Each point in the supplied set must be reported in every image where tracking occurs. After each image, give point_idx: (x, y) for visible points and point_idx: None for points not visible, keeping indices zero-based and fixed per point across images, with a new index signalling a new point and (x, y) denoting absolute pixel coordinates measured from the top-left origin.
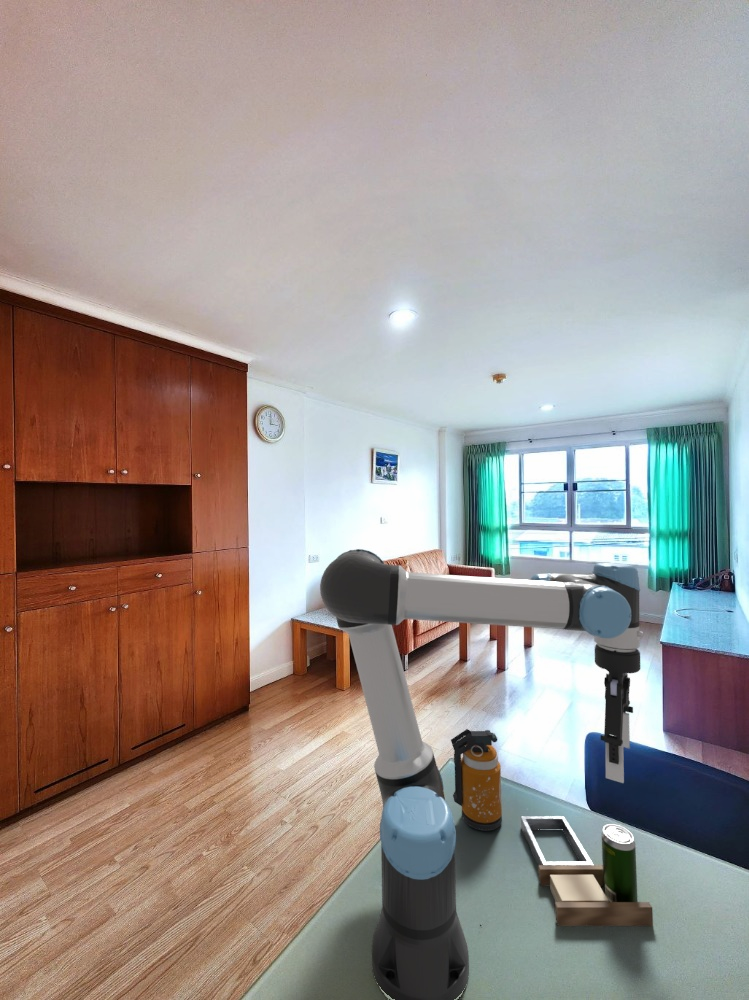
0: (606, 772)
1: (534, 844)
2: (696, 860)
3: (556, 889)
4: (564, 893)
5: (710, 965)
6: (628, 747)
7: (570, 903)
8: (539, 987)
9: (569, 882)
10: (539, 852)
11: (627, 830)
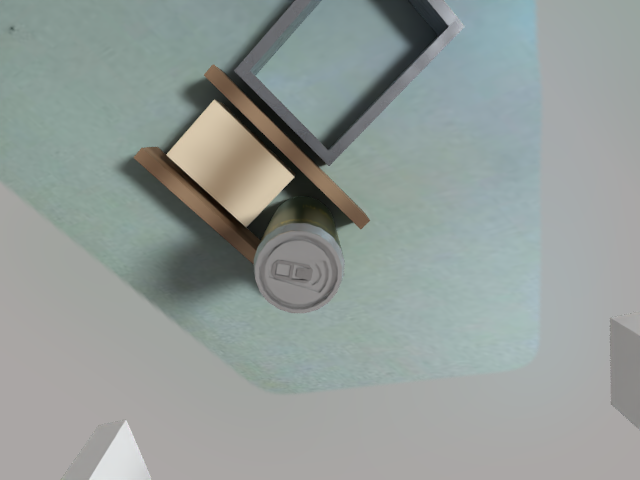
0: (77, 460)
1: (285, 14)
2: (533, 304)
3: (187, 130)
4: (188, 150)
5: (281, 362)
6: (615, 404)
7: (166, 174)
8: (12, 183)
9: (228, 145)
10: (266, 41)
11: (335, 288)
